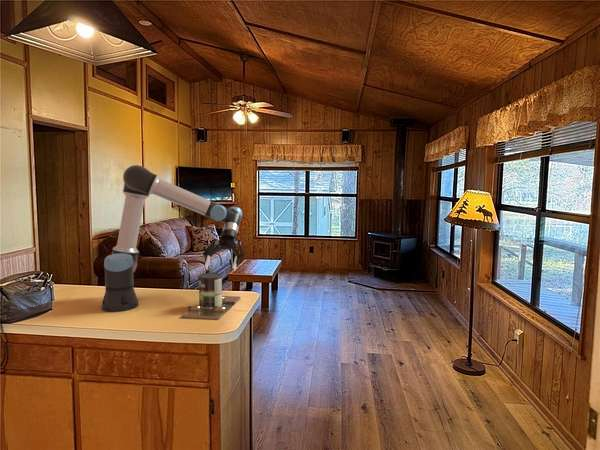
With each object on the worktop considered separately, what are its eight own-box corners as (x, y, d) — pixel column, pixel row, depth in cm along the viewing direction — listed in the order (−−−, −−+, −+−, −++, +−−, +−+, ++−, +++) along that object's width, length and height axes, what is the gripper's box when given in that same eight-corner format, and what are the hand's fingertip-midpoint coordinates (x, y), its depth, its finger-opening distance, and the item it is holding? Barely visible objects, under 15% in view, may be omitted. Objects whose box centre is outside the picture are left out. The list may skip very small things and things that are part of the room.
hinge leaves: (181, 317, 164) (181, 311, 164) (208, 297, 195) (208, 292, 195) (219, 319, 162) (218, 312, 162) (240, 298, 193) (240, 293, 192)
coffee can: (203, 310, 173) (203, 278, 172) (195, 305, 181) (195, 274, 180) (226, 306, 178) (225, 275, 177) (217, 301, 187) (216, 272, 186)
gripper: (255, 238, 200) (247, 274, 186) (207, 237, 203) (196, 272, 190) (252, 229, 194) (244, 265, 180) (203, 228, 197) (191, 263, 184)
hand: (219, 268), depth 185 cm, fingers open, 13 cm apart
